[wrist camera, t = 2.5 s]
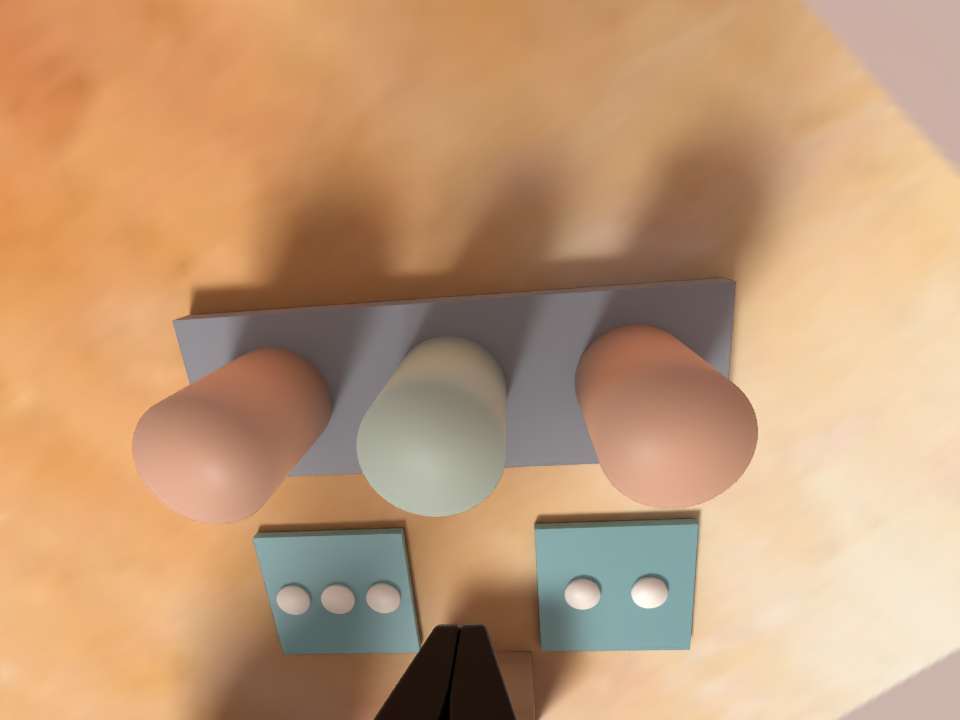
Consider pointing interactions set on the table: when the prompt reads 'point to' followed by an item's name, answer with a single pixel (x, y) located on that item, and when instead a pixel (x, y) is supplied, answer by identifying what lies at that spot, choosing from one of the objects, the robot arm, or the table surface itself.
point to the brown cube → (518, 681)
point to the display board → (490, 321)
